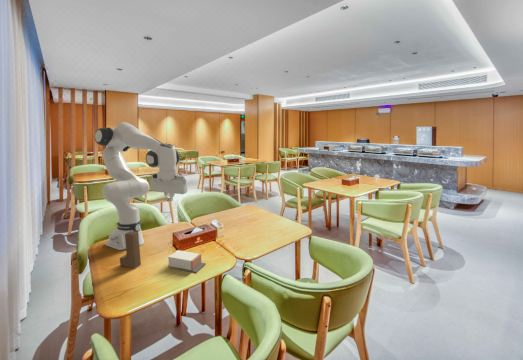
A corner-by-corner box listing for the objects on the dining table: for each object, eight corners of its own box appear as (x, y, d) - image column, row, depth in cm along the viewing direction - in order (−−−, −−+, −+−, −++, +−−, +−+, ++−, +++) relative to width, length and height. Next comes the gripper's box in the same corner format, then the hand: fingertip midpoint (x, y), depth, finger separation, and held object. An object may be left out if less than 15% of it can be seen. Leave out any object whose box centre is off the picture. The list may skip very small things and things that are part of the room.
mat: (170, 267, 138) (170, 266, 138) (180, 259, 147) (180, 258, 147) (196, 273, 134) (196, 271, 134) (205, 264, 142) (205, 263, 142)
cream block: (168, 256, 138) (192, 261, 134) (177, 250, 146) (201, 254, 141) (168, 265, 139) (193, 270, 135) (178, 258, 146) (201, 263, 142)
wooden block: (120, 266, 139) (116, 232, 136) (126, 262, 144) (123, 229, 140) (135, 268, 137) (132, 234, 133) (141, 264, 141) (138, 231, 138)
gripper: (189, 175, 143) (190, 201, 146) (156, 172, 149) (157, 197, 152) (182, 177, 137) (183, 204, 140) (148, 174, 144) (150, 200, 146)
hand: (169, 200), depth 146 cm, fingers closed
